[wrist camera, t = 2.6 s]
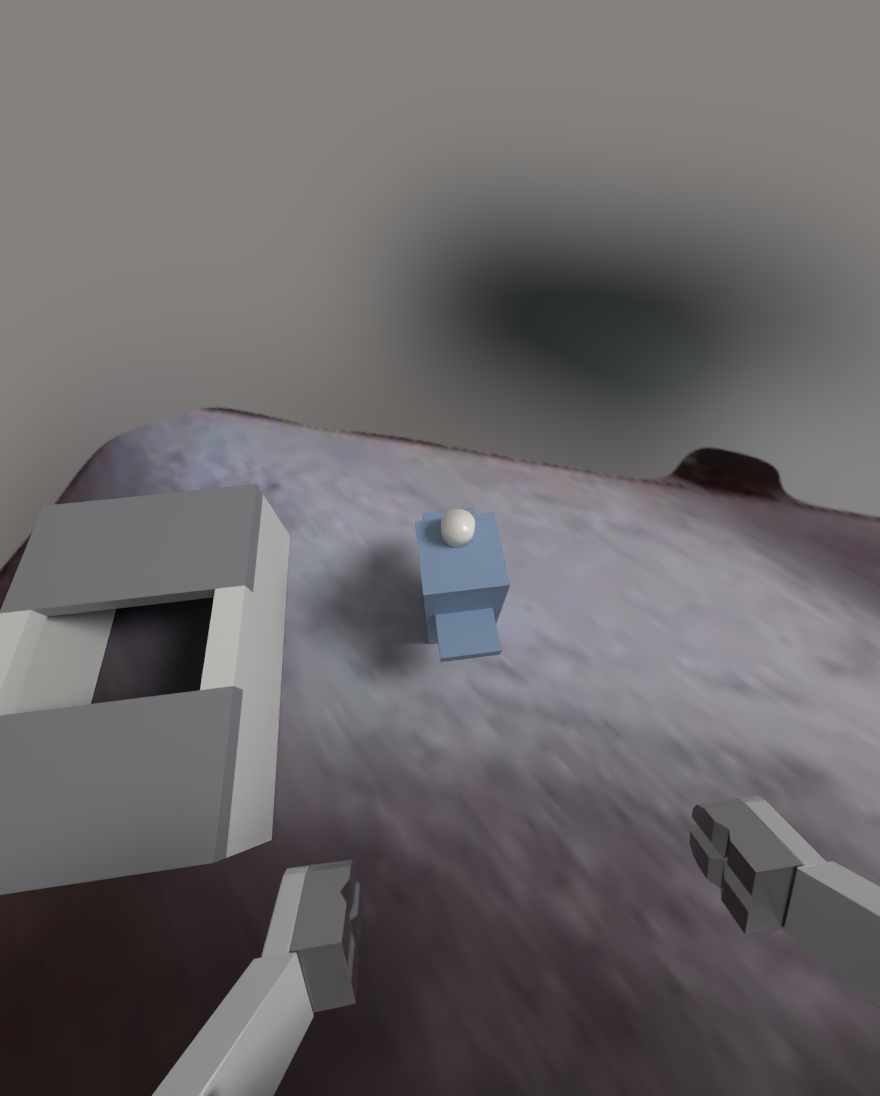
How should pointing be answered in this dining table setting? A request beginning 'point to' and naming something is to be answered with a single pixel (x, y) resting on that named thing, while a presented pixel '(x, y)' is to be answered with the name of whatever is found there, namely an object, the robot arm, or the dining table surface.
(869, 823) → the dining table surface
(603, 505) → the dining table surface
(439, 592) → the block
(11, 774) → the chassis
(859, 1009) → the dining table surface
